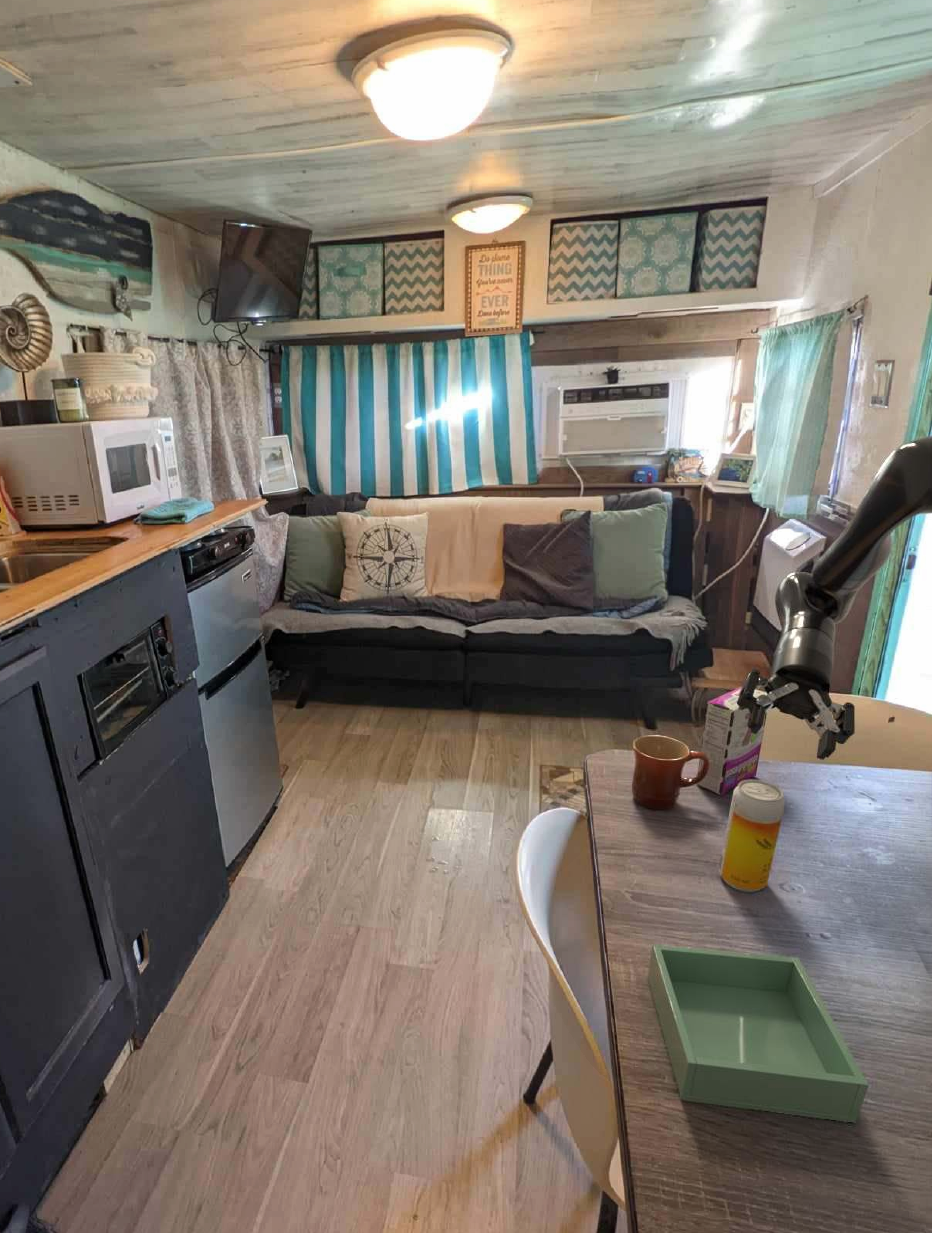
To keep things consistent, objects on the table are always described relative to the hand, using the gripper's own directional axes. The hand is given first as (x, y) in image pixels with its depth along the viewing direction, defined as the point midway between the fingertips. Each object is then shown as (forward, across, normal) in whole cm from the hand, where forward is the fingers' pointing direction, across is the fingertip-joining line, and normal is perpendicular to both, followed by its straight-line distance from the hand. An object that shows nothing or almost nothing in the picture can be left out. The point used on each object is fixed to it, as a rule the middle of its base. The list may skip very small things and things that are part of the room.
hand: (789, 742), depth 93 cm
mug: (-2, -8, +26) cm, 28 cm away
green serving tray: (+40, +2, +5) cm, 40 cm away
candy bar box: (-13, +1, +28) cm, 31 cm away
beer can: (+13, +3, +17) cm, 21 cm away
